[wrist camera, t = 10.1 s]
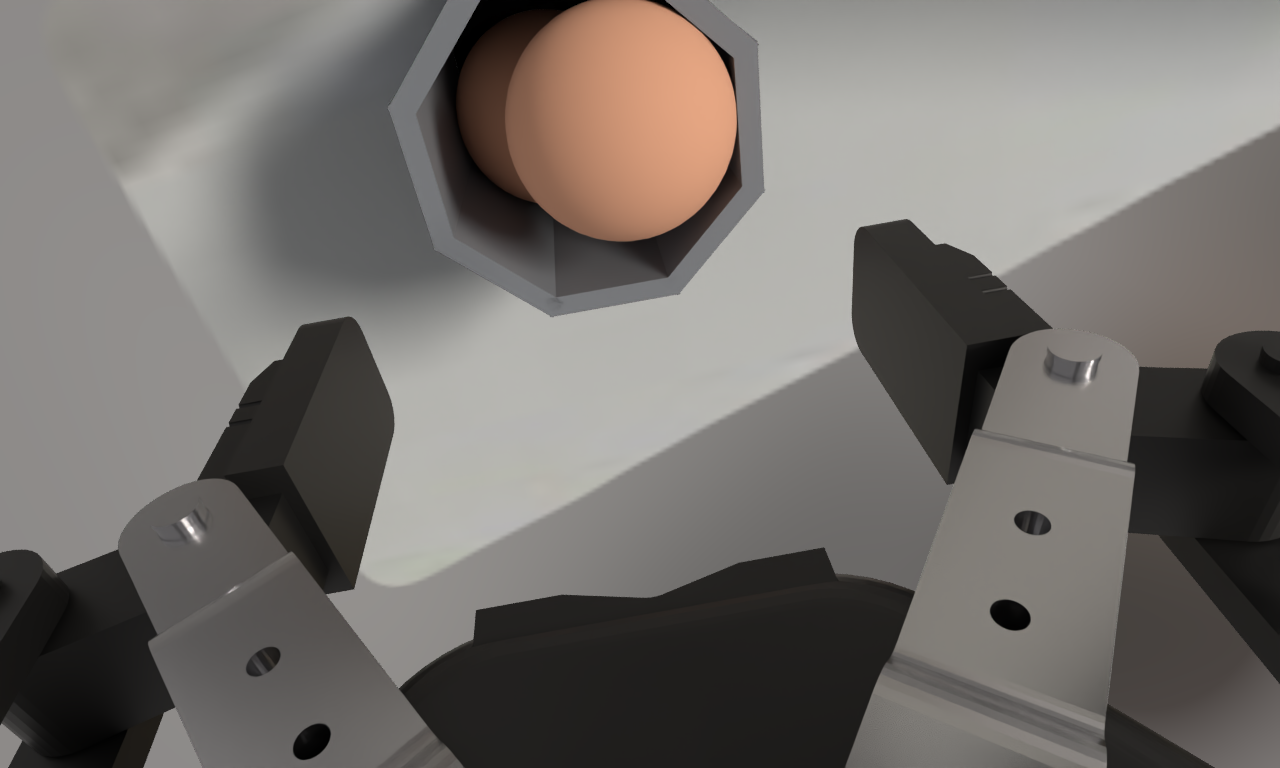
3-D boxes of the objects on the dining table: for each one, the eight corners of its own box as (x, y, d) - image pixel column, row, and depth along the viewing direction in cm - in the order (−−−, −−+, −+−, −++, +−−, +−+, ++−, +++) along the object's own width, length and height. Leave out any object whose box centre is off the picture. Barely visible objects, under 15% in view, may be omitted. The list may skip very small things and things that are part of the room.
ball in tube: (473, -8, 25) (396, 57, 21) (643, -26, 24) (597, 40, 20) (517, 157, 29) (460, 240, 25) (666, 151, 28) (632, 237, 24)
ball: (419, 55, 18) (621, -50, 15) (558, 39, 23) (735, -44, 19) (510, 289, 20) (708, 243, 16) (621, 229, 24) (793, 184, 21)
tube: (405, -51, 24) (346, -16, 17) (688, -100, 24) (752, -87, 17) (481, 217, 29) (461, 333, 22) (712, 176, 29) (769, 278, 22)
